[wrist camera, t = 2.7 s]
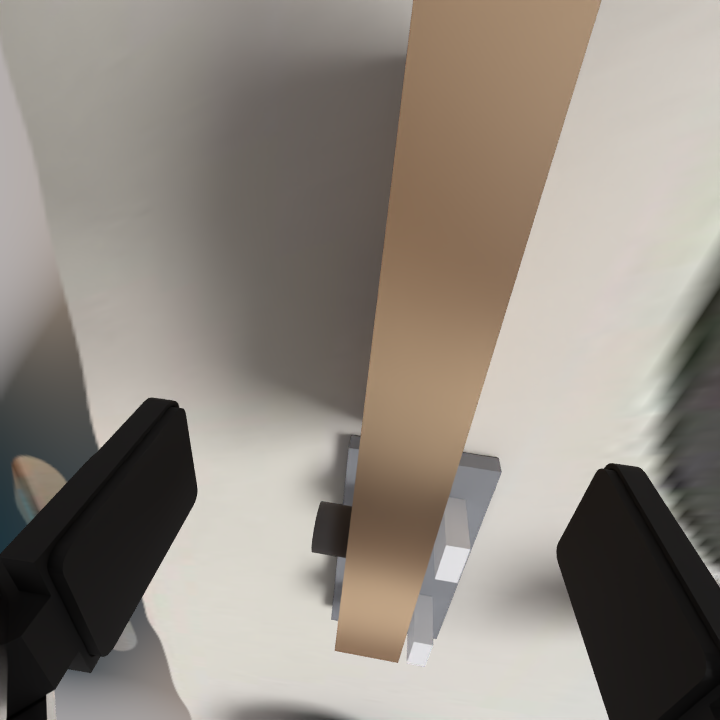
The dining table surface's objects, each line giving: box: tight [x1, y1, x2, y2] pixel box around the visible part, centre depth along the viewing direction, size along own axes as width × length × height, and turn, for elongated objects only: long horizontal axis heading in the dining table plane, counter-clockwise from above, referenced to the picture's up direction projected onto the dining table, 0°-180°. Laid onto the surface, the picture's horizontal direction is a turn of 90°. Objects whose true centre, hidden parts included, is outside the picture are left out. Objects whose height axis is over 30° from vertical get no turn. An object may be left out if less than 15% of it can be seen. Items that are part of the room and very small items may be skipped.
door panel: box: [312, 0, 601, 663], centre depth 13 cm, size 16×3×11 cm, turn 175°
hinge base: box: [331, 435, 501, 667], centre depth 26 cm, size 18×8×4 cm, turn 175°
